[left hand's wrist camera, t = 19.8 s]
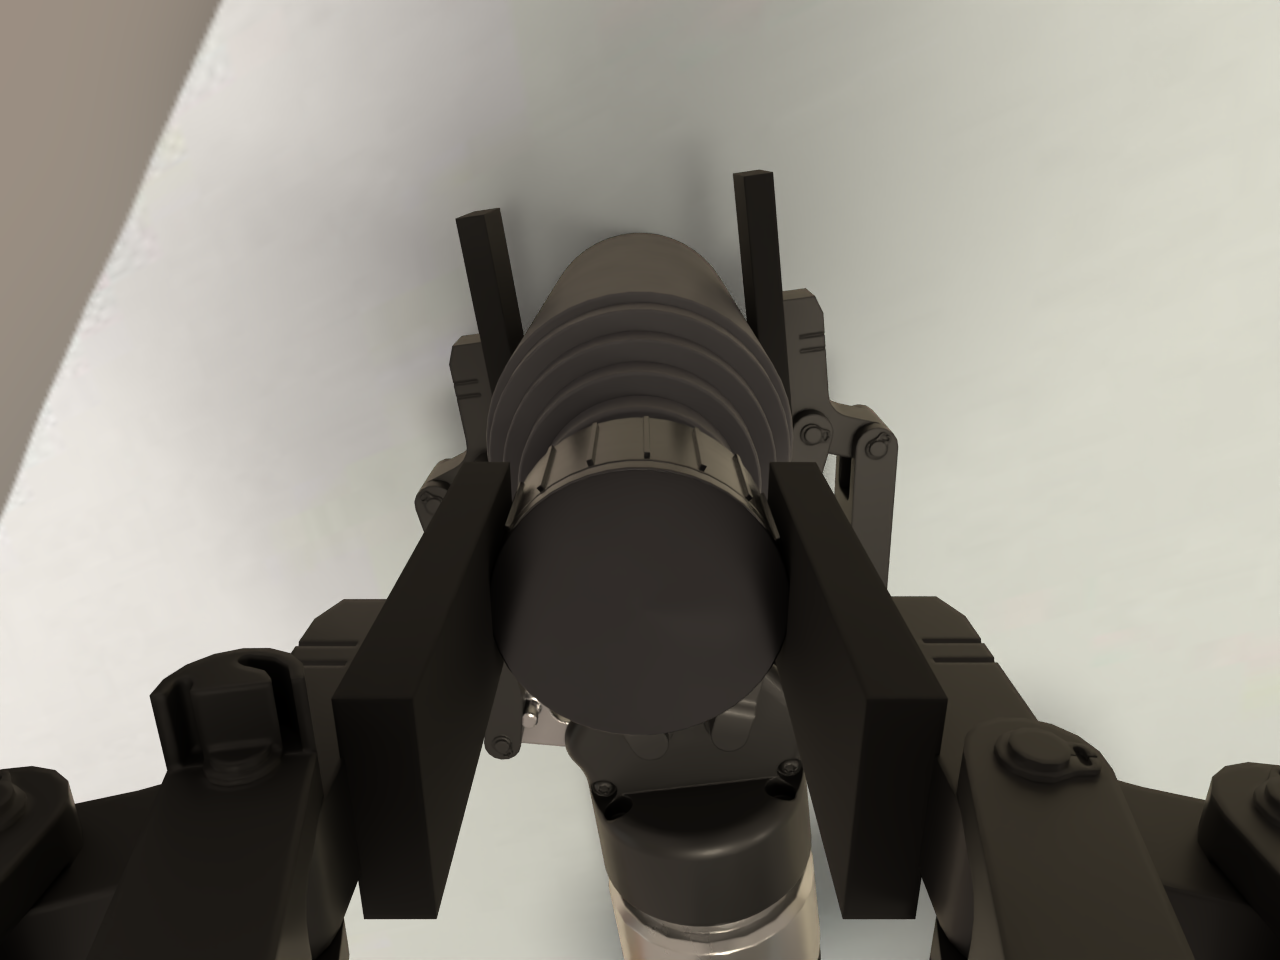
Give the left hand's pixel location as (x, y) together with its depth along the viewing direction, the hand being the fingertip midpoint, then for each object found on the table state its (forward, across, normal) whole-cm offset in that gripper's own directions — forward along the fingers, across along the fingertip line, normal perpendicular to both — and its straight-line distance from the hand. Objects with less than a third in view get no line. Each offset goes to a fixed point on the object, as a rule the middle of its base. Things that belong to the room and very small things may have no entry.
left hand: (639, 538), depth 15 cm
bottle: (+18, 0, 0) cm, 18 cm away
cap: (-2, 0, 0) cm, 2 cm away
